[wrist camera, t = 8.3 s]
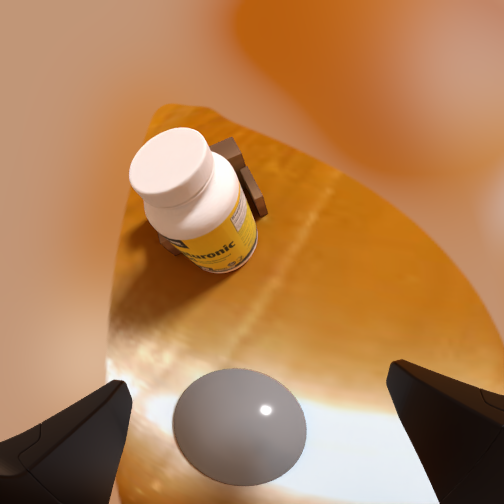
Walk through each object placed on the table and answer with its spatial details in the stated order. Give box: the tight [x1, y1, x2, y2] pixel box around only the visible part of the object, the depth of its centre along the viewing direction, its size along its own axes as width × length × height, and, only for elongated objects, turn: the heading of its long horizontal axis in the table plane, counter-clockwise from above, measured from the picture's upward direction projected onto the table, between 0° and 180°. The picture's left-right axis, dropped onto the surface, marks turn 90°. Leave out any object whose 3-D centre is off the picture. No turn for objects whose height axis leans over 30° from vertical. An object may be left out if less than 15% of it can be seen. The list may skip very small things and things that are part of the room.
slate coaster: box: [174, 368, 306, 486], centre depth 15 cm, size 9×9×1 cm
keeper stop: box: [157, 137, 268, 256], centre depth 20 cm, size 5×8×4 cm, turn 112°
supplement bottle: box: [129, 128, 258, 273], centre depth 16 cm, size 5×5×10 cm
